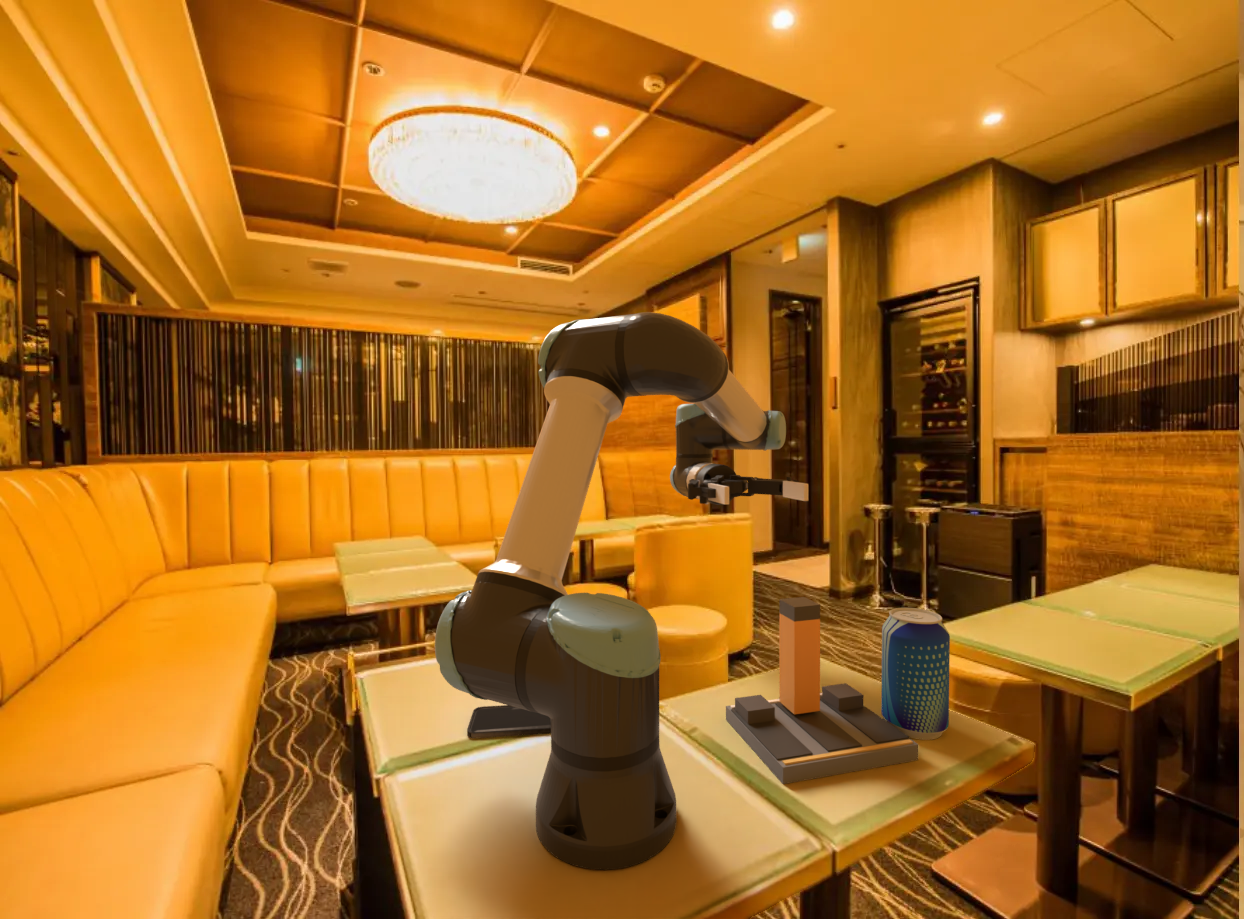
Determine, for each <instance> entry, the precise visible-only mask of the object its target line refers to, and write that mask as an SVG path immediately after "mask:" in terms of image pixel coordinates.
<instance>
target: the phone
mask: <svg viewBox="0 0 1244 919" xmlns="http://www.w3.org/2000/svg"><path fill="white" fill-rule="evenodd" d="M466 732H467V733H466V734H467V737H468V738H470V739H486V738H487V739H488V738H501V737H502V738H503V737H515V736H517V737H518V736H531V735H532V736H535V735H547V734H548V735H551V719H550V717H548V716H546V715H543V714H540V713H536V712H532V711H528V710H524V709H521V708H517V707H513V706H510V705H506V704H502V705H487V706H485V705H484V706H478V707H476V708H474V709H473V711H472V714H471V716H470V719H469V723H468V725H467V728H466Z"/></svg>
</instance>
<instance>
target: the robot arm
mask: <svg viewBox="0 0 1244 919" xmlns="http://www.w3.org/2000/svg"><path fill="white" fill-rule="evenodd" d="M537 363H538V365H539V366H540V368H539V370H538V372H537V373H538V377H539V380H540V383H541V385H542V388H543V394H544V396H545V399H546V401H547V402H548V404H549V407H548V410H547V412H546V415H545V417H544V421H543V424H542V426H541V430H540V432H539V436H538V438H537V440H536V441H537V442H536V444H535V447H534V450H533V453H532V456H531V459H530V461H529V464H528V467H527V470H526V472H525V476H524V479H523V481H522V485H521V487H520V490H519V494H518V495H517V498H516V501H515V505H514V508H513V511H512V512H511V516H510V518H509V521H508V524H507V527H506V530H505V533H504V536H503V539H502V542H501V545H500V548H499V550H498V553H497V556H496V559H495V561H494V562H493V563H491V564H489V565H488V566H486V567H484V568H482V569H480V570H478V573H477V576H476V579H475V581H474V583H473V587H472V589H470V590H467V591H463V592H461V593H459V594H457V595H456V596H455V597H454V599H452V600H450V601H449V602H448V603H446V604H447V605H446V606H445V607H444V609H443V610H442V613H441V614H440V616H439V620H438V622H437V626H436V631H435V636H434V653H435V659H436V662H437V664H438V666H439V671H440V673H441V675H442V677H443V678H444V680H445V681H446V682H447V683H448V684H449V685H450V686H451V687H452V688H454V689H456V690H457V691H461V692H464V693H466V694H469V695H470V696H471V697H473V698H475V699H480V700H484V701H488V700H489V701H491V702H495V703H499V704H502V705H510V706H513V707H517V708H521V709H524V710H528V711H532V712H536V713H540V714H543V715H546V716H548V717H550V719H551V734H550V741H551V742H550V754H549V755H548V756H549V758H548V760H547V762H546V767H545V770H544V774H543V777H542V780H541V783H540V787H539V790H538V794H537V796H536V801H535V830H536V834H537V836H538V839H539V841H540V843H541V844H542V846H543V847H544V848H545V849H546V850H547V851H548V852H549V853H550V854H551V855H552V856H554V857H555V858H557V859H559V860H560V861H563V862H565V863H567V864H570V865H572V866H576V867H579V868H584V869H590V870H615V869H617V870H618V869H624V868H628V867H631V866H635V865H638V864H641V863H643V862H644V861H648V860H649V859H651V858H653V857H654V856H656V855H658V853H659V852H661V851H663V849H664V848H665V847H667V845H668V844H669V842H670V841H671V839H672V838H673V836H674V834H675V831H676V828H677V798H676V793H675V790H674V786H673V783H672V780H671V778H670V774H669V772H668V768H667V766H666V762H665V759H664V756H663V753H662V751H661V748H660V747H661V746H660V664H661V659H662V658H661V650H660V645H659V643H660V642H659V634H658V633H659V631H658V627H657V623H656V620H655V618H654V617H653V615H652V614H651V613H650V612H649V610H647V609H646V607H644V606H642V605H641V604H639V603H637V602H636V601H633V600H631V599H628V598H626V597H621V596H618V595H614V594H610V593H609V594H608V593H602V592H596V593H589V592H575V593H570V594H568V592H567V590H566V588H565V586H564V585H563V581H562V580H563V577H564V574H565V570H566V567H567V563H568V559H569V558H570V557H569V556H570V553H571V549H572V546H573V542H574V539H575V535H576V531H577V529H578V526H579V523H580V522H579V521H580V519H581V515H582V511H583V509H584V505H585V501H586V497H587V496H588V492H589V488H590V484H591V481H592V478H593V475H594V471H595V467H596V463H597V461H598V458H599V454H600V451H601V447H602V445H603V444H602V443H603V440H604V436H605V432H606V430H607V427H608V424H609V423H611V422H614V421H616V420H617V419H619V418H620V416H621V415H622V414H623V413H622V412H623V409H624V405H625V402H626V399H627V398H630V397H643V396H644V397H645V396H674V397H676V398H677V399H679V400H681V401H683V402H685V403H682V404H680V405H678V406H677V408H676V415H675V425H674V426H675V453H676V454H675V456H676V457H675V465H674V466H673V467H672V468H671V471H670V474H669V479H670V480H669V481H670V484H671V487H672V488H673V490H675V491H676V492H677V493H679V494H680V495H682V496H683V497H686V498H687V499H688V500H691V501H693V500H699V504H701V505H703V504H704V505H710V504H713V505H718V506H723V505H730V502H731V501H733V499H735V498H739V497H752V496H755V495H764V496H766V495H767V496H770V495H772V496H782V498H788V499H792V500H797V501H803V502H809V483H805V482H800V481H799V480H798V479H793V480H792V476H786V479H780V478H779V479H778V478H777V479H775V478H762V477H761V478H760V477H757V476H754V477H753V476H742V475H739V474H737V473H736V471H735V470H734V469H733V468H732V467H730V466H729V465H726V464H720V463H714V462H713V453H714V450H719V451H720V450H721V451H722V450H733V451H735V450H737V451H738V450H739V451H740V450H741V451H743V450H747V451H749V450H750V451H766V452H767V450H769V451H770V450H781V448H782V447H783V446H784V444H785V442H786V435H787V424H786V423H787V421H786V418H785V415H784V413H783V412H782V411H778V410H769V409H768V410H763V408H762V407H761V406H760V405H759V404H758V402H756V401H755V399H754V398H753V397H752V396H751V394H750V393H749V391H747V390H746V388H745V387H744V386H743V384H742V383H741V382H740V381H739V380H738V378H737V377H736V376H735V375H734V374H733V372H732V371H731V370H730V364H729V360H728V357H727V355H726V353H725V352H724V350H723V349H722V348H721V347H720V346H719V345H718V343H717V342H716V341H715V340H714V339H712V338H711V336H709V335H708V334H707V333H705V332H703V331H702V330H701V329H699V328H697V327H695V326H694V325H692V324H690V323H689V322H686V321H684V320H682V319H680V318H677V317H674V316H671V315H667V314H666V313H665V314H664V313H661V312H651V311H644V312H638V313H632V314H631V313H630V314H623V315H615V316H606V317H599V318H598V317H597V318H590V319H589V318H588V319H586V318H580V319H575V320H572V321H570V322H564V323H561V324H559V325H557V326H555V327H554V328H553V329H551V330H550V331H549V332H548V334H546V336H545V338H544V340H543V342H542V343H541V346H540V349H539V354H538V359H537ZM746 491H747V492H746Z"/></svg>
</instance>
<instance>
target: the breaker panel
mask: <svg viewBox="0 0 1244 919" xmlns="http://www.w3.org/2000/svg"><path fill="white" fill-rule="evenodd" d="M821 691H822V692H820V711H815V712H808V713H801V714H793V713H792V712H791V711H790V710H789V709H787V708H786V707H785V706H784V705H783V704H782V703H781V702H779V698H775V699H766V698H765V697H764V696H763V695H762V694H757V695H747V696H741V697H736V698H734V704H730V705H725V720H726V722H727V723H728V724H729V725H730V726H731V727H732V728H733V730H735V732H736V733H737V734H738V735H739V736H740V737H741V739H742V740H743V741H744V742H745V743H746V744H747V745H748V746H749V748H750V749H751V750H752V751H753V752H754V753H755V754H756V756H758V757H759V759H760V760H761V761H762V762H763V763H764V765H765V766H767V768H768V770H770V771H771V772H772V774H773V775H775V777H776V778H777V779H778V780H779V781H780V782H781V784H782V785H784V784H790V783H792V784H793V783H797V782H802V781H807V780H813V779H814V780H815V779H819V778H825V777H830V776H835V775H841V774H846V773H853V772H859V771H864V770H869V769H875V768H880V767H885V766H887V767H888V766H892V765H897V764H902V763H903V764H904V763H907V762H915V761H918V760H919V744H918V743H917V742H916V741H915V740H913V739H912V738H910V737H909V736H907V735H906V734H904V733H903V732H901V731H900V730H898V729H897V728H896V727H894V726H893V725H891V724H890V723H888V722H887V721H886V720H885V719H884V717H883V718H882V717H881V716H880V715H878V714H876V712H874V711H873V710H871V709H870V708H868V707H867V706H866V705H864V694H863V693H862V692H860V691H859V690H857V689H855V688H854V687H852V686H851V685H849V684H848V683H845V682H844V683H837V684H832V685H831V684H829V685H823V686H821Z"/></svg>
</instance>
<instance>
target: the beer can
mask: <svg viewBox="0 0 1244 919" xmlns="http://www.w3.org/2000/svg"><path fill="white" fill-rule="evenodd" d="M888 614H889V616H888V617H887V619H886V620H885V621H884V622H883V624H882V626H881V716H882V717H883V719H884V720H885V721H887V722H888V723H890V724H891V725H893V726H894V727H896V728H897V729H898V730H900V731H901V732H903V733H904V734H906V735H907V736H909V738H910V739H916V740H922V741H923V740H924V741H925V740H927V741H928V740H929V741H930V739H931V740H936V739H938V738H940V737H941V736H942V735H943V733H944V732H945V731H947V730H948V728H949V725H950V724H949V723H950V717H949V716H950V713H949V712H950V653H951V652H950V650H951V649H950V647H951V646H950V643H951V642H950V640H951V637H950V633H949V630H947V628H946V626H945V625H944V623H943V617H942V616H941V614H939V613H937V612H934V611H930V610H927V609H923V608H915V607H896V608H893V609H892V608H891V609H890V610H889V611H888Z"/></svg>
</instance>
